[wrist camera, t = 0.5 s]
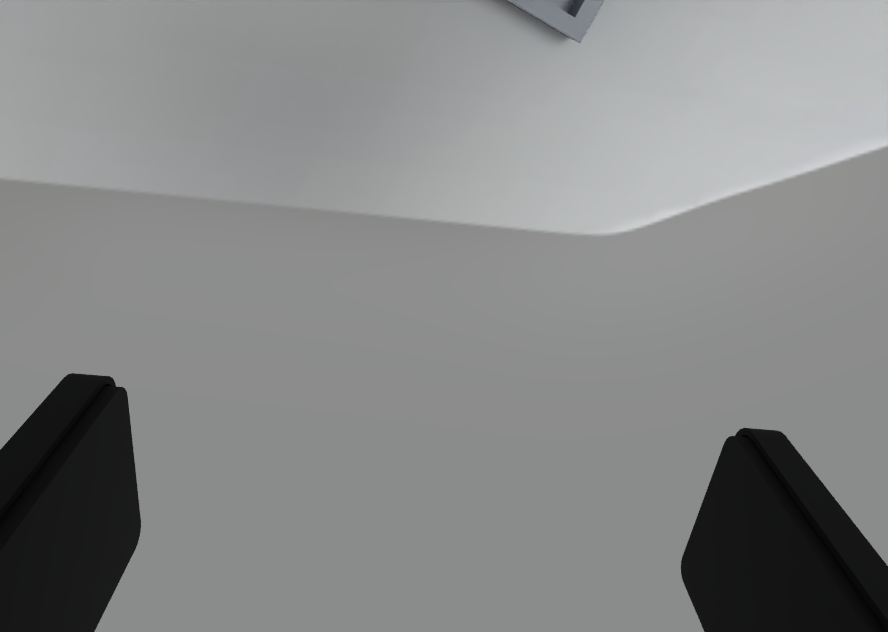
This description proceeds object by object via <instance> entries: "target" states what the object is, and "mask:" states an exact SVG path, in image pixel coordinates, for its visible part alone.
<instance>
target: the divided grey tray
mask: <svg viewBox="0 0 888 632" xmlns="http://www.w3.org/2000/svg"><path fill="white" fill-rule="evenodd" d="M506 1H508V2H509V3H511V4H513V5H514V6H516V7H518V8H520V9H521V10H523V11H525V12H526V13H528V14H530V15H531V16H533V17H535V18H536V19H538V20H540V21H541V22H543V23H545V24H547V25H548V26H550V27H552V28H553V29H555V30H557V31H558V32H560V33H562V34H563V35H565V36H567V37H568V38H570V39H572V40H575V41H577V42H579V43H580V42H581V41H582V39H583V37H584V35H585V34H586V32H587V30H588V28H589V27H590V25H591V23H592V21H593V20H594V18H595V16H596V14H597V13H598V11H599V9H600V7H601V6H602V4H603V2H604V0H506Z"/></svg>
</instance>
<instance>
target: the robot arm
mask: <svg viewBox="0 0 888 632" xmlns="http://www.w3.org/2000/svg"><path fill="white" fill-rule="evenodd" d="M140 529H141V519H140V511H139V500H138V491H137V482H136V472H135V463H134V453H133V444H132V434H131V425H130V415H129V406H128V397H127V392H126V390H125V388H123V387H116V385H115V382H114V380H113V378H111V377H110V376H97V375H85V374H73V373H72V374H68V375H67V376H66V377H64V378H63V380H62V381H61V382H60V383H59V384H58V385H57V386H56V388H55V389H54V390H53V391H52V392H51V393H50V394H49V395H48V397H47V398H46V399H45V400H44V401H43V402H42V403H41V405H40V406H39V407H38V408H37V409H36V410H35V411H34V412H33V414H32V415H31V416H30V417H29V418H28V419H27V420H26V422H25V423H24V424H23V425H22V426H21V427H20V428H19V429H18V431H17V432H16V433H15V434H14V435H13V436H12V437H11V438H10V440H9V441H8V442H7V443H6V444H5V445H4V446H3V448H2V449H1V450H0V632H94V631H95V629H96V627H97V625H98V623H99V621H100V619H101V617H102V615H103V613H104V611H105V609H106V607H107V605H108V603H109V601H110V599H111V597H112V595H113V593H114V591H115V589H116V587H117V585H118V583H119V581H120V579H121V577H122V575H123V573H124V571H125V569H126V566H127V565H128V563H129V561H130V558H131V557H132V555H133V553H134V551H135V549H136V546H137V543H138V540H139V536H140ZM681 574H682V579H683V582H684V584H685V587H686V589H687V591H688V594H689V596H690V599H691V601H692V603H693V606H694V608H695V610H696V613H697V615H698V617H699V620H700V622H701V624H702V627H703V629H704V631H705V632H888V566H887V565H886V563H885V562H884V561H883V560H882V558H881V557H880V556H879V555H878V553H877V552H876V551H875V550H874V548H873V547H872V546H871V545H870V543H869V542H868V541H867V539H866V538H865V537H864V536H863V534H862V533H861V532H860V530H859V529H858V528H857V527H856V525H855V524H854V523H853V522H852V520H851V519H850V518H849V516H848V515H847V514H846V513H845V511H844V510H843V509H842V507H841V506H840V505H839V504H838V502H837V501H836V500H835V499H834V497H833V496H832V495H831V493H830V492H829V491H828V490H827V488H826V487H825V486H824V484H823V483H822V482H821V481H820V480H819V478H818V477H817V476H816V474H815V473H814V472H813V470H812V469H811V468H810V467H809V465H808V464H807V463H806V462H805V460H804V459H803V458H802V456H801V455H800V454H799V453H798V452H797V450H796V449H795V448H794V446H793V445H792V444H791V442H790V441H789V440H788V439H787V437H786V436H785V435H784V434H783V433H782V432H780V431H774V430H763V429H750V428H743V429H740V430H739V431H738V432H737V434H736V435H735V436H730V437H728V438H727V439H726V441H725V443H724V445H723V448H722V451H721V454H720V456H719V459H718V462H717V465H716V467H715V470H714V473H713V475H712V478H711V481H710V483H709V486H708V489H707V492H706V495H705V497H704V500H703V503H702V505H701V508H700V511H699V513H698V516H697V519H696V522H695V524H694V527H693V530H692V532H691V535H690V538H689V541H688V543H687V546H686V549H685V552H684V554H683V557H682V561H681Z"/></svg>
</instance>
